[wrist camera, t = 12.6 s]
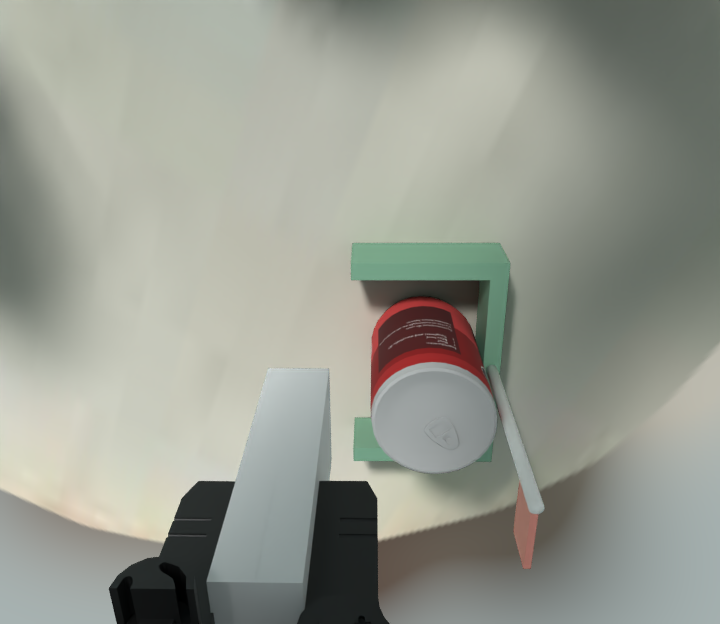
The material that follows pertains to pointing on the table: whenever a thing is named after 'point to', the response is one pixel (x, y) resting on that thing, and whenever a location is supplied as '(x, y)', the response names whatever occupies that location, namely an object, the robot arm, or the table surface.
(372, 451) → the green c-shaped bracket
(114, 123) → the table surface
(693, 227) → the table surface
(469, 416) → the canned food
